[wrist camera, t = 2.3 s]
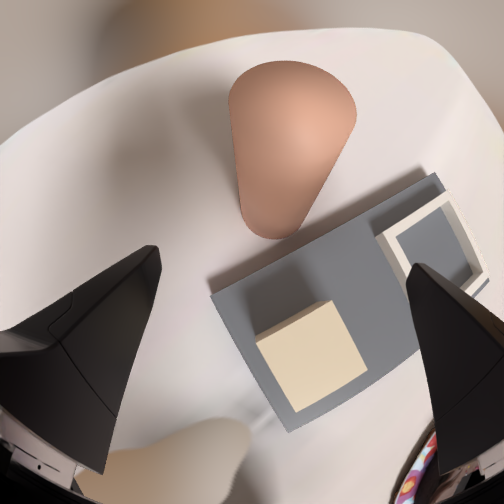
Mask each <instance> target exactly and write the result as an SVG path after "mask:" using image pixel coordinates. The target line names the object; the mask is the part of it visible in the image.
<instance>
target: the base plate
mask: <svg viewBox="0 0 504 504" xmlns="http://www.w3.org/2000/svg"><path fill="white" fill-rule="evenodd" d="M414 263H425V264H426V265H428V266H429V267H431V268H432V269H434V270H435V271H436V272H438V273H439V274H441V275H442V276H444V277H445V278H446V279H448V280H449V281H451V282H452V283H453V284H455V285H456V286H458V287H459V288H460V289H462V290H463V291H464V292H466V293H467V294H468V295H470V296H471V297H472V298H474V297H475V296H476V295H477V294H478V293H479V292H480V291H481V290H482V289H483V288H484V287H485V286H486V284H487V283H488V282H489V278H488V277H489V276H490V273H489V270H488V268H487V265H486V263H485V260H484V258H483V256H482V253H481V251H480V249H479V246H478V244H477V242H476V240H475V238H474V236H473V233H472V231H471V229H470V227H469V225H468V223H467V221H466V219H465V217H464V216H463V214H462V212H461V210H460V208H459V206H458V204H457V203H456V201H455V199H454V197H453V196H452V194H451V192H450V190H449V189H448V190H447V191H446V190H445V188H444V186H443V185H442V183H441V181H440V180H439V178H438V176H437V175H436V173H435V172H434V173H432V174H430V175H429V176H427V177H425V178H423V179H422V180H420V181H418V182H417V183H415V184H413V185H411V186H410V187H408V188H406V189H404V190H403V191H401V192H399V193H397V194H396V195H394V196H392V197H390V198H389V199H387V200H385V201H383V202H382V203H380V204H378V205H376V206H375V207H373V208H371V209H369V210H368V211H366V212H364V213H362V214H360V215H359V216H357V217H355V218H353V219H352V220H350V221H348V222H346V223H344V224H343V225H341V226H339V227H337V228H335V229H334V230H332V231H330V232H328V233H326V234H324V235H323V236H321V237H319V238H317V239H315V240H314V241H312V242H310V243H308V244H306V245H304V246H303V247H301V248H299V249H297V250H295V251H293V252H292V253H290V254H288V255H286V256H284V257H282V258H281V259H279V260H277V261H275V262H273V263H271V264H269V265H267V266H266V267H264V268H262V269H260V270H258V271H256V272H254V273H253V274H251V275H249V276H247V277H245V278H243V279H241V280H239V281H237V282H236V283H234V284H232V285H230V286H228V287H226V288H224V289H222V290H220V291H218V292H217V293H215V294H213V295H211V296H210V297H211V299H212V301H213V303H214V305H215V307H216V309H217V311H218V313H219V315H220V317H221V318H222V320H223V322H224V324H225V326H226V328H227V330H228V331H229V333H230V335H231V337H232V339H233V341H234V342H235V344H236V346H237V348H238V350H239V351H240V353H241V355H242V357H243V359H244V360H245V362H246V364H247V366H248V367H249V369H250V371H251V373H252V374H253V376H254V378H255V380H256V381H257V383H258V385H259V386H260V388H261V390H262V391H263V393H264V395H265V396H266V398H267V400H268V401H269V403H270V405H271V406H272V408H273V410H274V411H275V413H276V415H277V416H278V418H279V419H280V421H281V423H282V424H283V426H284V427H285V429H286V431H287V432H288V433H289V432H291V431H293V430H295V429H297V428H299V427H301V426H303V425H305V424H307V423H309V422H311V421H313V420H314V419H316V418H318V417H320V416H322V415H324V414H325V413H327V412H329V411H331V410H332V409H334V408H336V407H337V406H339V405H341V404H342V403H344V402H346V401H347V400H349V399H350V398H352V397H354V396H355V395H357V394H358V393H360V392H361V391H363V390H364V389H366V388H367V387H369V386H370V385H372V384H373V383H375V382H376V381H378V380H379V379H381V378H382V377H383V376H385V375H386V374H388V373H389V372H390V371H392V370H393V369H394V368H396V367H397V366H398V365H400V364H401V363H402V362H404V361H405V360H406V359H407V358H409V357H410V356H411V355H412V354H414V353H415V352H416V351H417V350H419V349H420V347H419V343H418V339H417V335H416V331H415V328H414V324H413V320H412V315H411V310H410V305H409V300H408V295H407V290H406V280H407V277H408V275H409V272H410V270H411V268H412V265H413V264H414Z"/></svg>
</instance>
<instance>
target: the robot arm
mask: <svg viewBox="0 0 504 504" xmlns="http://www.w3.org/2000/svg"><path fill="white" fill-rule="evenodd" d="M161 271H162V264H161V259H160V253H159V248H158V247H157V246H154V245H146V246H144V247H142V248H141V249H139V250H137V251H135V252H134V253H132V254H130V255H129V256H127V257H125V258H124V259H122V260H120V261H119V262H117V263H115V264H114V265H112V266H111V267H109V268H107V269H106V270H104V271H102V272H101V273H99V274H98V275H96V276H95V277H93V278H91V279H90V280H88V281H87V282H85V283H84V284H82V285H80V286H79V287H77V288H76V289H74V290H73V292H70V293H68V294H67V295H65V296H64V297H62V298H60V299H59V300H57V301H56V302H54V303H53V304H51V305H49V306H48V307H46V308H44V309H43V310H41V311H39V312H38V313H36V314H34V315H32V316H31V317H29V318H27V319H26V320H24V321H22V322H21V323H19V324H17V325H16V326H14V327H12V328H10V329H7V330H4V331H0V504H102V503H99V502H97V501H94V500H92V499H90V498H87V497H85V496H84V495H83V493H82V491H81V490H80V488H79V486H78V484H77V483H76V480H75V479H74V474H75V470H76V467H77V465H78V466H81V467H83V468H85V469H88V470H90V471H93V472H96V473H98V474H101V475H103V472H104V468H105V464H106V460H107V455H108V451H109V447H110V443H111V439H112V435H113V431H114V427H115V424H116V420H117V419H116V418H117V416H118V412H119V409H120V405H121V402H122V398H123V395H124V391H125V388H126V385H127V382H128V378H129V375H130V372H131V369H132V366H133V363H134V360H135V357H136V354H137V351H138V348H139V345H140V342H141V339H142V336H143V333H144V330H145V327H146V325H147V322H148V319H149V316H150V313H151V311H152V307H153V303H154V299H155V295H156V291H157V287H158V283H159V279H160V276H161ZM406 290H407V295H408V300H409V305H410V310H411V315H412V320H413V324H414V328H415V331H416V335H417V339H418V343H419V347H420V351H421V355H422V359H423V363H424V368H425V372H426V377H427V382H428V387H429V392H430V398H431V404H432V410H433V417H434V423H435V432H436V441H437V451H438V464H439V474H440V476H441V475H444V474H447V473H449V472H452V471H454V470H457V469H459V468H461V467H464V466H466V465H468V464H470V463H472V462H475V461H478V465H479V469H478V470H476V471H474V472H472V473H470V474H468V475H466V476H463V477H462V479H461V481H460V483H459V484H458V486H457V488H456V490H455V492H454V494H453V496H451V497H449V498H447V499H444V500H442V501H440V502H437V503H435V504H504V322H503V321H502V320H500V319H499V318H498V317H497V316H495V315H494V314H493V313H492V312H490V311H489V310H488V309H487V308H485V307H484V306H483V305H481V304H480V303H479V302H478V301H476V300H475V299H474V298H472V297H471V296H470V295H468V294H467V293H466V292H464V291H463V290H462V289H460V288H459V287H458V286H456V285H455V284H453V283H452V282H451V281H449V280H448V279H446V278H445V277H444V276H442V275H441V274H439V273H438V272H436V271H435V270H434V269H432V268H431V267H429V266H428V265H426V264H425V263H414V264H413V265H412V268H411V270H410V272H409V275H408V277H407V280H406Z"/></svg>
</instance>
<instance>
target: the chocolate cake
mask: <svg viewBox="0 0 504 504" xmlns="http://www.w3.org/2000/svg"><path fill="white" fill-rule="evenodd" d="M478 469H479V465H478V461H475V462H472V463H470V464H468V465H466V466H464V467H461V468H459V469H457V470H454V471H452V472H449V473H447V474H444V475H441V476H440V474H439V464H438V451H437V441H436V432H435V428H433V429H432V431H431V432H430V433H429V434H428V436H427V438H426V440H425V442H424V445H423V446H422V448H421V450H420V452H419V454H418V456H417V458H416V460H415V462H414V463H413V465H412V467H411V469H410V471H409V472H408V474H407V475H406V477H405V478H404V480H403V482H402V483H401V487H400V488H399V491H397V492H396V493H395V497H394V500H393V504H435V503H437V502H440V501H442V500H444V499H447V498H449V497H451V496H453V494H454V492H455V490H456V488H457V486H458V484H459V483H460V481H461V479H462V477H463V476H466V475H468V474H470V473H472V472H474V471H476V470H478Z"/></svg>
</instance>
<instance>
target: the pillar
mask: <svg viewBox="0 0 504 504" xmlns="http://www.w3.org/2000/svg"><path fill="white" fill-rule="evenodd" d="M229 111H230V120H231V128H232V137H233V145H234V154H235V162H236V170H237V179H238V187H239V195H240V203H241V212H242V217H243V219H244V222H245V223H246V225H247V226H248V228H249V229H250V230H251V231H252V232H254V233H255V234H257V235H259V236H261V237H263V238H267V239H282V238H285V237H288V236H290V235H292V234H293V233H294V232H296V231H297V230H298V229H299V227H300V226H301V224H302V223H303V221H304V219H305V217H306V216H307V214H308V212H309V210H310V208H311V207H312V205H313V203H314V201H315V199H316V198H317V196H318V194H319V192H320V190H321V188H322V187H323V185H324V183H325V181H326V179H327V177H328V176H329V174H330V172H331V170H332V168H333V166H334V164H335V163H336V161H337V159H338V157H339V155H340V153H341V151H342V149H343V148H344V146H345V144H346V142H347V140H348V138H349V136H350V134H351V132H352V130H353V128H354V126H355V123H356V117H357V112H356V106H355V102H354V100H353V98H352V96H351V94H350V92H349V91H348V90H347V88H346V87H345V86H344V85H343V84H342V83H341V82H340V81H339V80H338V79H337V78H335V77H334V76H333V75H331V74H330V73H328V72H326V71H324V70H322V69H320V68H318V67H316V66H313V65H310V64H306V63H302V62H296V61H273V62H268V63H263V64H260V65H257V66H255V67H253V68H251V69H249V70H247V71H246V72H244V73H243V74H242V75H241V76H240V77H239V78H238V79H237V80H236V81H235V83H234V84H233V86H232V88H231V90H230V94H229Z"/></svg>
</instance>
